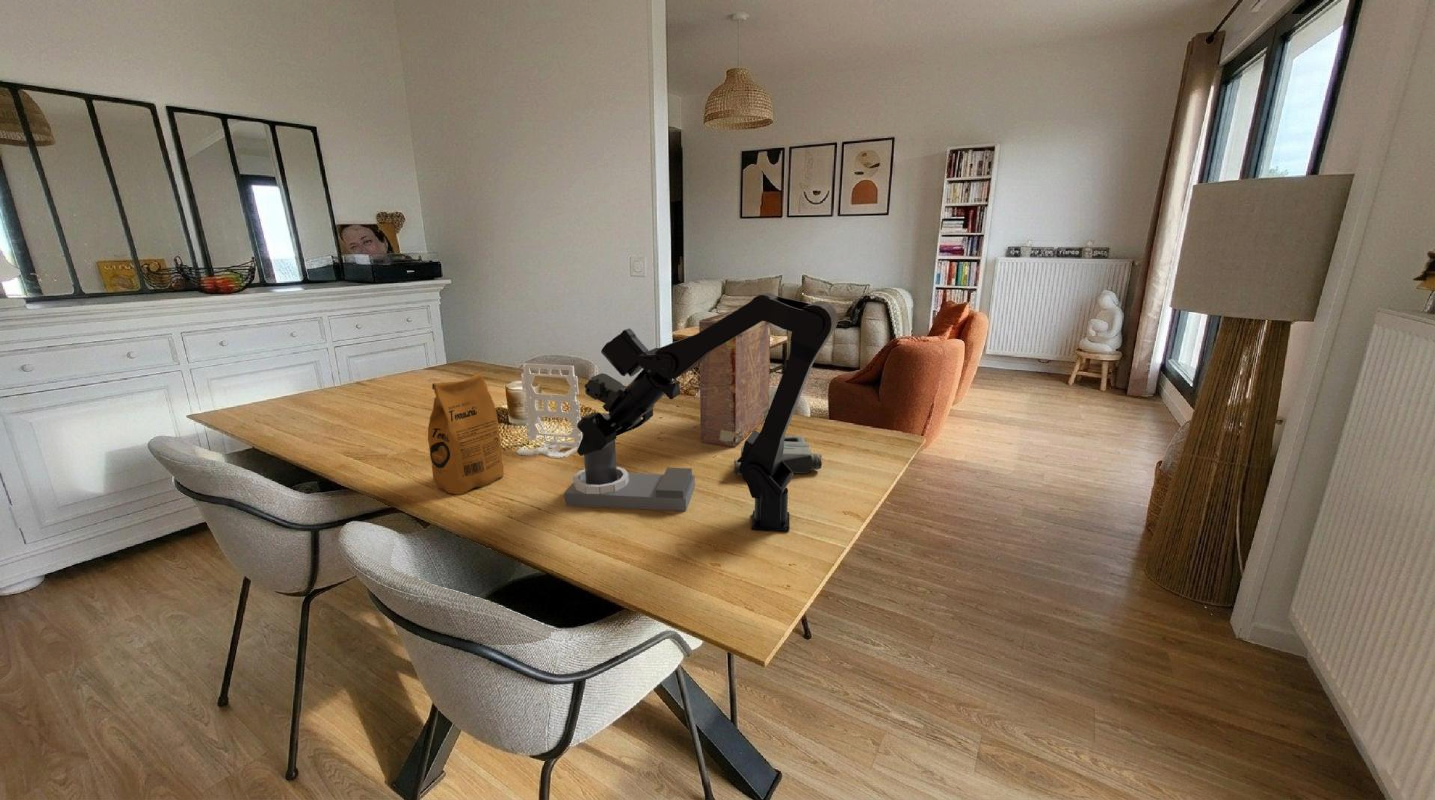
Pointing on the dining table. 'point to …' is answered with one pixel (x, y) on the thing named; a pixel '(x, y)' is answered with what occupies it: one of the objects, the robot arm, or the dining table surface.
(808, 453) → the camcorder
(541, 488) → the dining table surface
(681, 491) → the grey stepped base
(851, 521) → the dining table surface
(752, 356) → the book
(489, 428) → the coffee package
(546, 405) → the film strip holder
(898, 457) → the dining table surface
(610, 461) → the dark grey cylinder
